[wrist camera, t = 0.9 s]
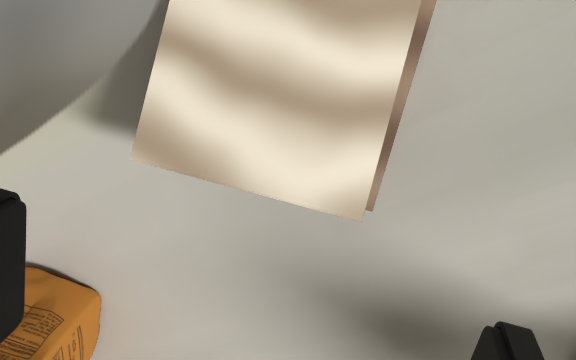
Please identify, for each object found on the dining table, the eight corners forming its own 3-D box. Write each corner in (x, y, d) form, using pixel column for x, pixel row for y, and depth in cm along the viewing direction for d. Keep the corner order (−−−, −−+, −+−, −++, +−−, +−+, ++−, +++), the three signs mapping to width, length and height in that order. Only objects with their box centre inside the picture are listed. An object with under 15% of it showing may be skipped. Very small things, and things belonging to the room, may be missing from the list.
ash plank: (191, -50, 35) (184, -60, 33) (419, 3, 34) (422, -5, 32) (138, 160, 35) (129, 159, 34) (360, 220, 34) (361, 222, 33)
